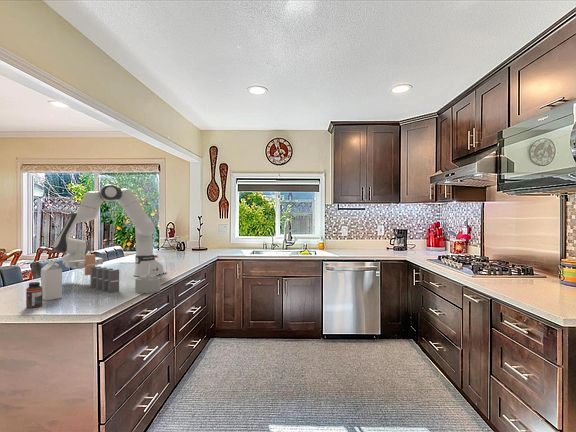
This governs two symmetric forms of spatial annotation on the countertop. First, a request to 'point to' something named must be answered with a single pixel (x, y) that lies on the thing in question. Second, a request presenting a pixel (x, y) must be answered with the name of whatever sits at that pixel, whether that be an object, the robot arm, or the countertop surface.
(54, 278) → the milk carton
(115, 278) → the domino
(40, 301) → the supplement bottle
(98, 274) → the domino
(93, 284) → the domino
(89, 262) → the terracotta domino
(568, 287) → the countertop surface
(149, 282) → the light gray block
